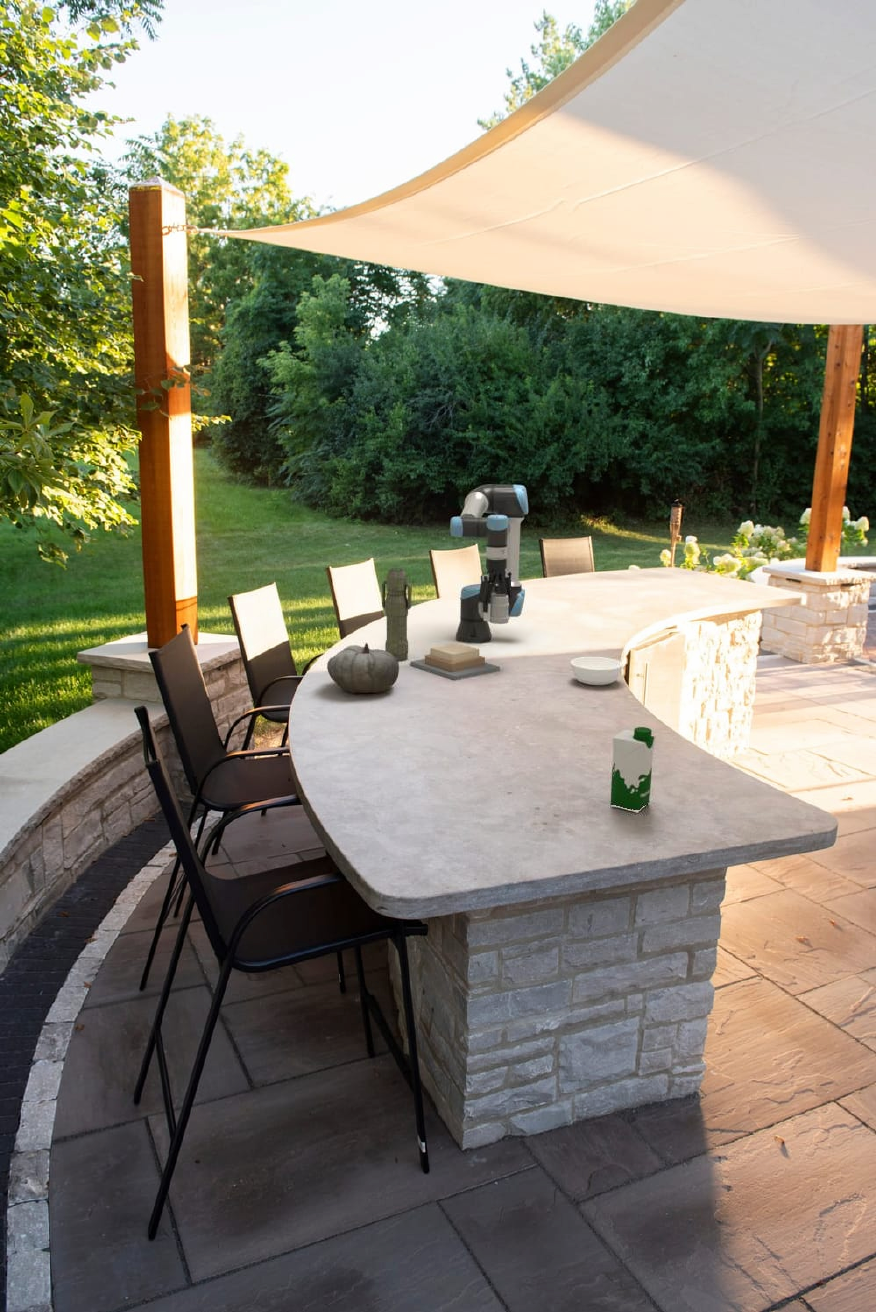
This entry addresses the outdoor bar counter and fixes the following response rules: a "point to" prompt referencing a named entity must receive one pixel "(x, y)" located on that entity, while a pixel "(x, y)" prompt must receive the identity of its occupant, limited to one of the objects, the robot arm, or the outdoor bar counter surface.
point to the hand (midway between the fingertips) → (495, 619)
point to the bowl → (596, 670)
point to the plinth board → (457, 673)
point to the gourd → (363, 669)
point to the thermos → (397, 612)
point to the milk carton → (632, 768)
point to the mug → (497, 609)
